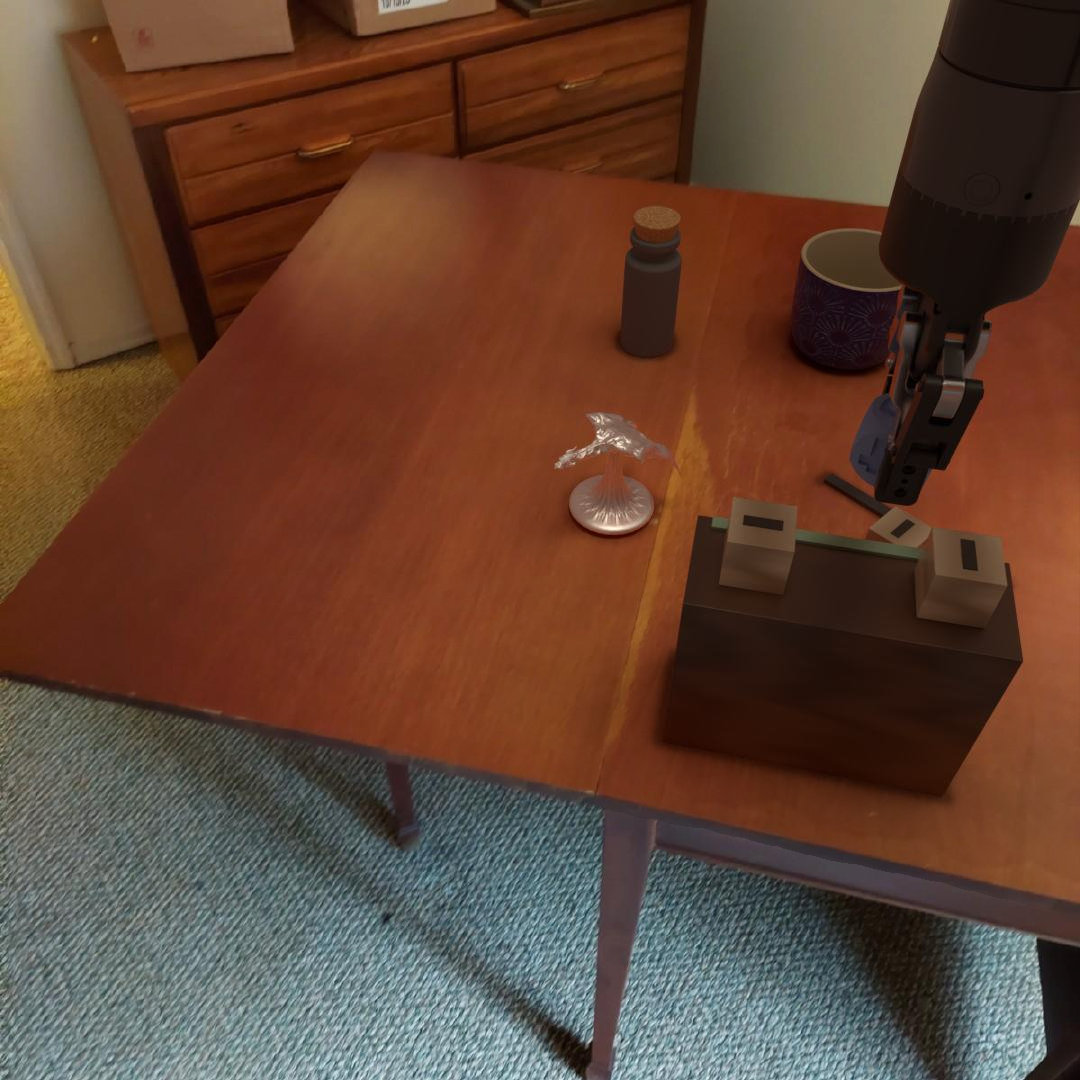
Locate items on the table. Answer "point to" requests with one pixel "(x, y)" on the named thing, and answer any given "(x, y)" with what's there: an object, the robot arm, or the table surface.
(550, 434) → the table surface
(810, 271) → the planter
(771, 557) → the dark brown block
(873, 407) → the decorative dice
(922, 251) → the robot arm
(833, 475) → the beige cubes with bar
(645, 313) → the bottle
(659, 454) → the figurine
